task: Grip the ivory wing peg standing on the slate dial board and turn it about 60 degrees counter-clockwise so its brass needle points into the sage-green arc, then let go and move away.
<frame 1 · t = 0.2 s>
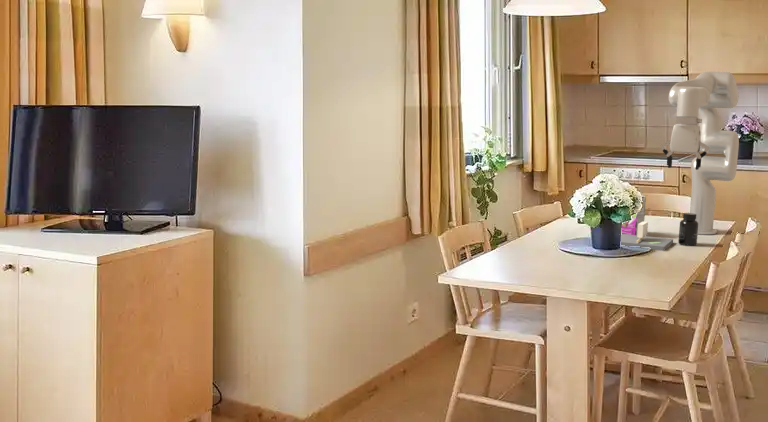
hand: (683, 168, 328), 31 cm above the table, tool pointing down, fingers open, 9 cm apart
supplement bottle: (687, 244, 345), on the table
ivory wing peg: (641, 231, 341), point 5 cm above the table, hinge at 0.0°
candy bar box: (628, 235, 363), on the table
slate dial board: (641, 243, 344), on the table
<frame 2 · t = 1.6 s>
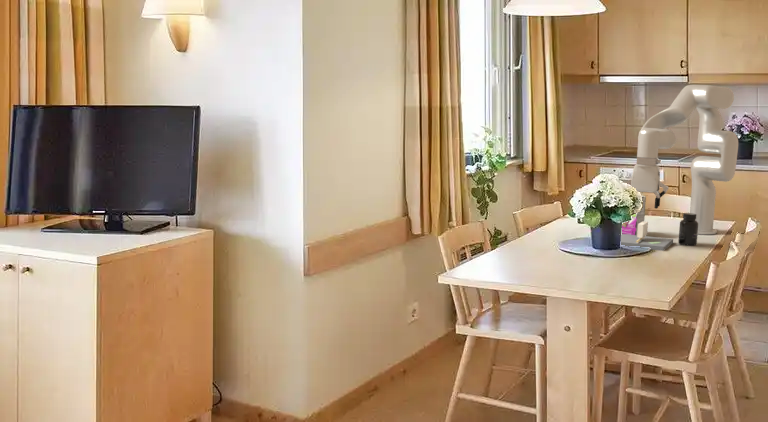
hand: (643, 206, 341), 14 cm above the table, tool pointing down, fingers open, 9 cm apart
nothing on the table moved.
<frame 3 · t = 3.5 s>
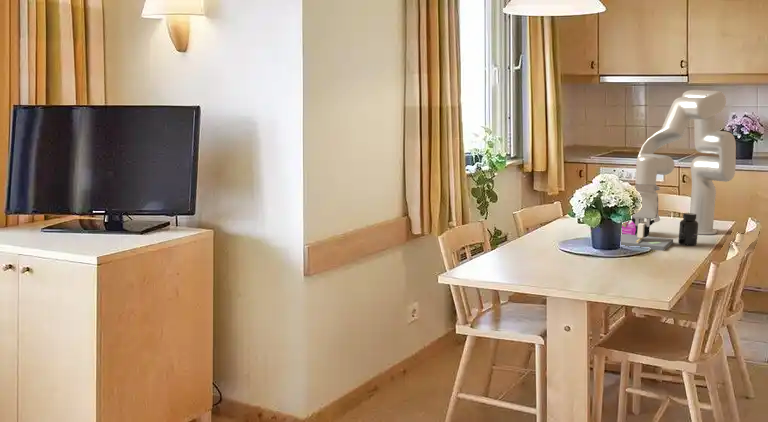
hand: (642, 235, 343), 3 cm above the table, tool pointing down, fingers closed on ivory wing peg, 2 cm apart
ivory wing peg: (641, 231, 341), point 5 cm above the table, hinge at 0.2°, touching gripper
everything else where it was.
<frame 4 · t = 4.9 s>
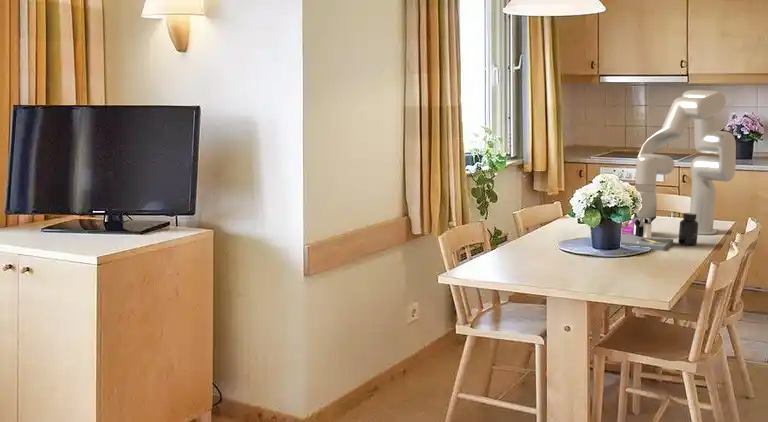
hand: (642, 235, 343), 3 cm above the table, tool pointing down, fingers closed on ivory wing peg, 2 cm apart
ivory wing peg: (646, 232, 341), point 5 cm above the table, hinge at 49.3°, touching gripper
everything else where it was.
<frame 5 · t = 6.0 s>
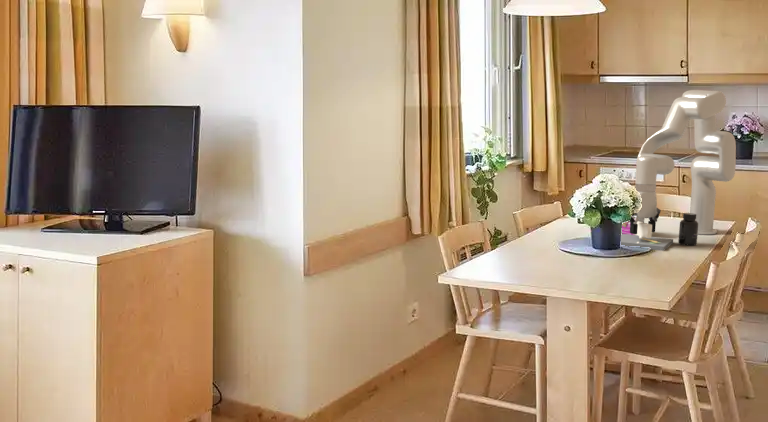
hand: (642, 232, 343), 4 cm above the table, tool pointing down, fingers open, 9 cm apart
ivory wing peg: (646, 232, 341), point 5 cm above the table, hinge at 53.6°
everything else where it was.
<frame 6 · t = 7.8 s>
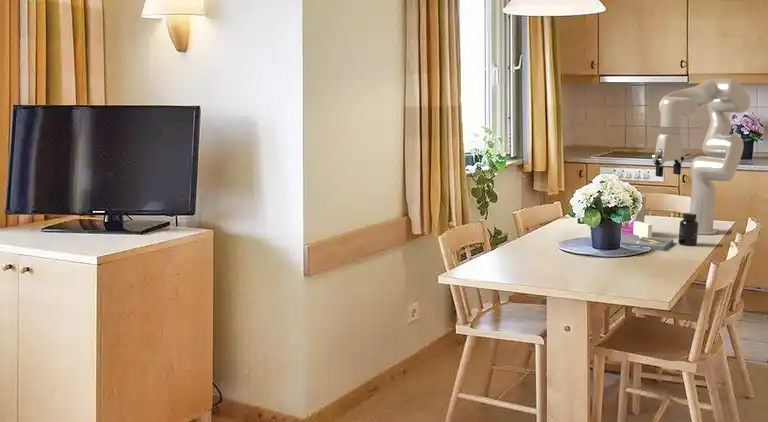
hand: (668, 175, 346), 26 cm above the table, tool pointing down, fingers open, 9 cm apart
ivory wing peg: (646, 232, 341), point 5 cm above the table, hinge at 54.4°
everything else where it was.
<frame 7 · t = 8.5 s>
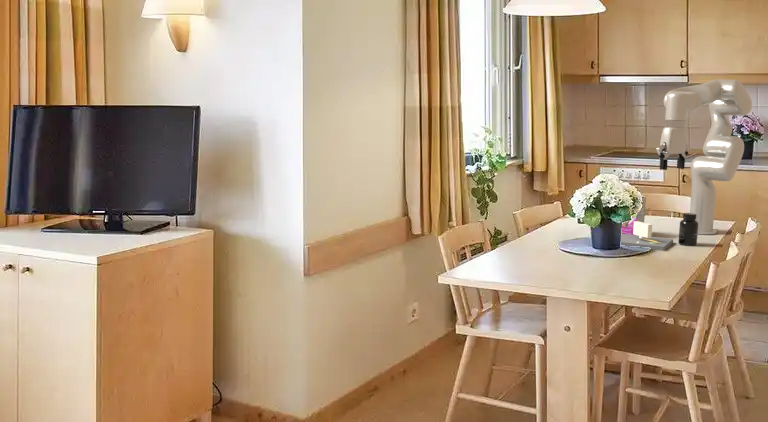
hand: (671, 169, 346), 28 cm above the table, tool pointing down, fingers open, 9 cm apart
nothing on the table moved.
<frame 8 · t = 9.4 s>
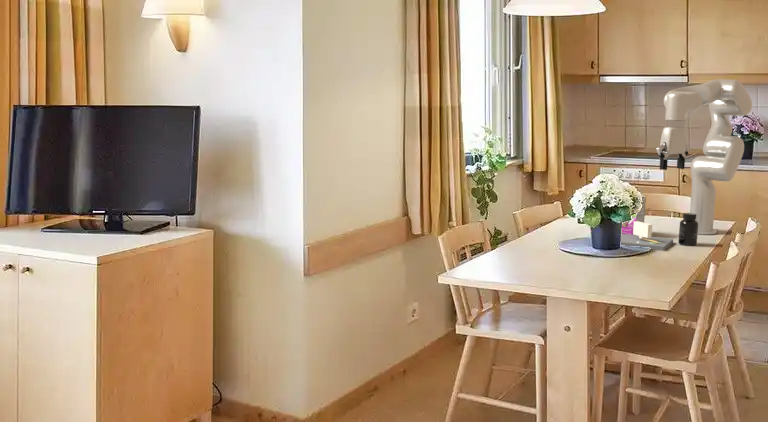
hand: (671, 169, 346), 28 cm above the table, tool pointing down, fingers open, 9 cm apart
nothing on the table moved.
at the end: ivory wing peg at +54° (first picture: +0°); the gripper is holding nothing; supplement bottle moved 0.2 cm from its start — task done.
